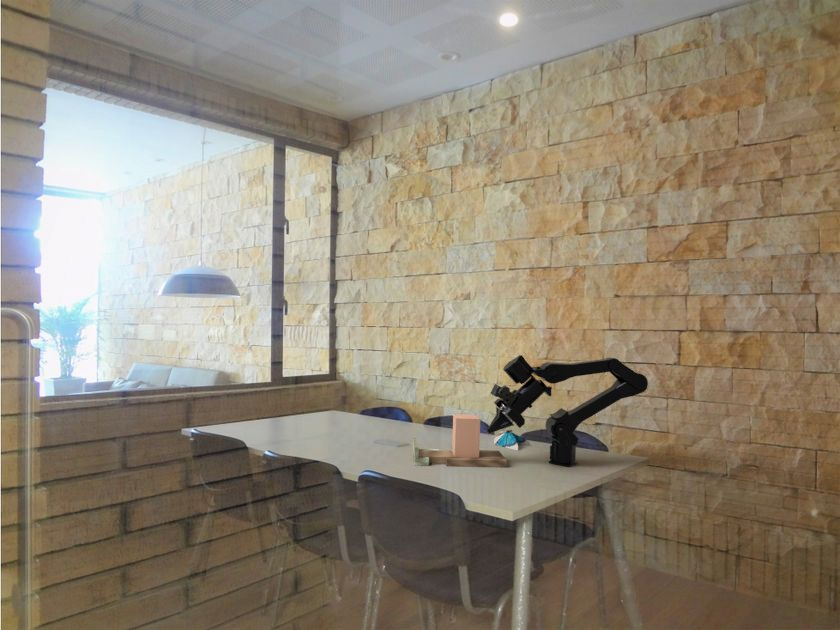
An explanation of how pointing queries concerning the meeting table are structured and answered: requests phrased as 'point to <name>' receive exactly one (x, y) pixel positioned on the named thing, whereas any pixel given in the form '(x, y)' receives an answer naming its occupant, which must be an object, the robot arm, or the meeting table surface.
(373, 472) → the meeting table surface
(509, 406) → the robot arm
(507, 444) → the decorative butterfly
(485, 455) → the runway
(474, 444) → the block
